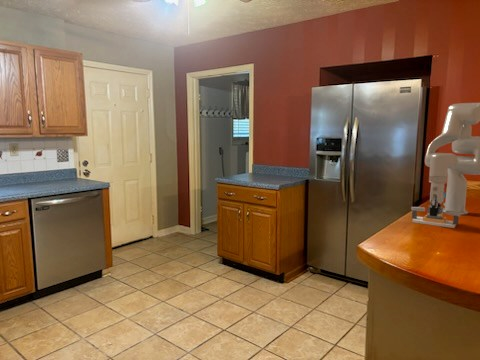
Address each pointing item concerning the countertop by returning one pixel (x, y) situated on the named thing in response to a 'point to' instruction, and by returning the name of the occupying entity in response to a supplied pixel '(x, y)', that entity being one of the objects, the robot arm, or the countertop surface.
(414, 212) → the stand
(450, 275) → the countertop surface
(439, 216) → the block
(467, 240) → the countertop surface
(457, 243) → the countertop surface
